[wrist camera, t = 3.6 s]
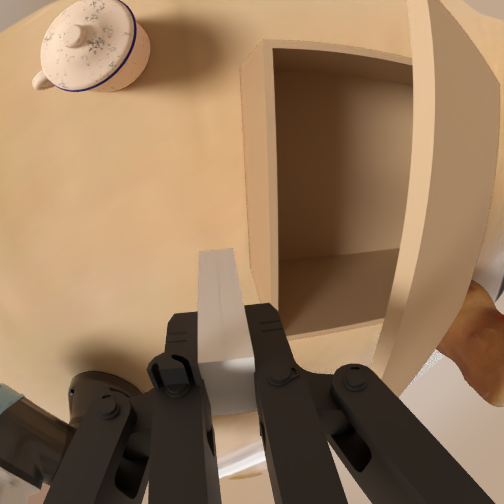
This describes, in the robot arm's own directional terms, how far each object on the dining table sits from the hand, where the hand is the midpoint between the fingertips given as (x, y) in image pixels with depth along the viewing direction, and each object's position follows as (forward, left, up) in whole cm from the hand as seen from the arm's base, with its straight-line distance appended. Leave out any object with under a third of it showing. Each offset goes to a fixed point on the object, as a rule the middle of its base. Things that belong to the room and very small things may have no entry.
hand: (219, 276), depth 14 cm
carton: (0, -15, -22) cm, 26 cm away
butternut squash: (-23, -38, -22) cm, 49 cm away
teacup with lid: (+15, +11, -22) cm, 29 cm away
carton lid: (0, -16, -2) cm, 16 cm away
